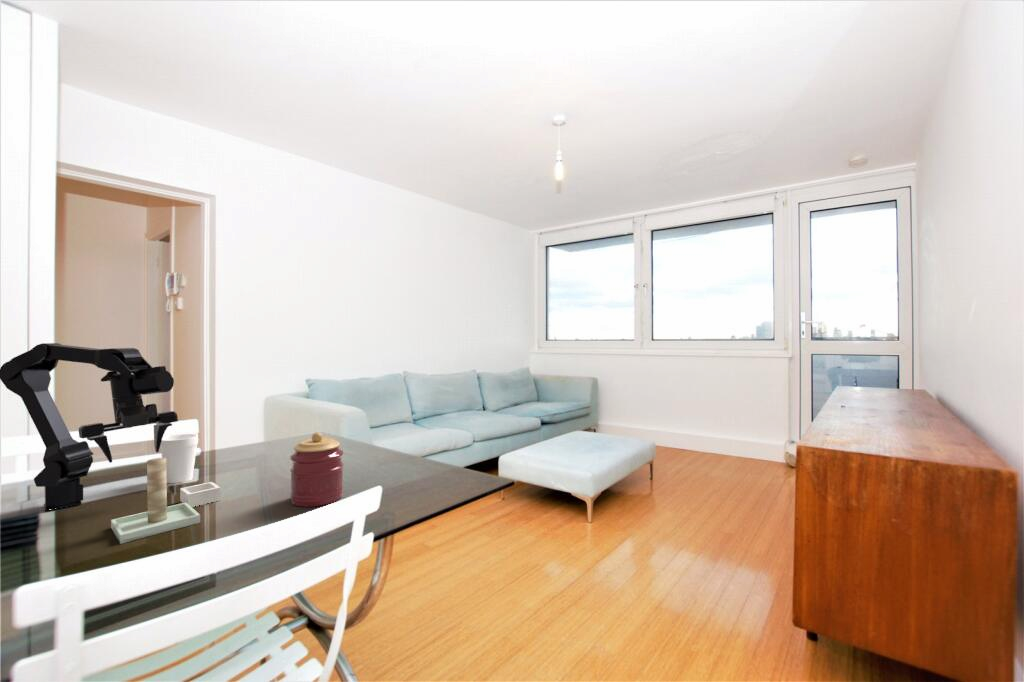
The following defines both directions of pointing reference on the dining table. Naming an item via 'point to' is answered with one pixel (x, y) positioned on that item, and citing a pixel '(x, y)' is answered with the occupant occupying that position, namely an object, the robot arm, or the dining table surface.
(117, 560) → the dining table surface
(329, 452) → the canister
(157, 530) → the tray
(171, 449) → the foam cup
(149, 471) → the dowel
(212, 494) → the collar
